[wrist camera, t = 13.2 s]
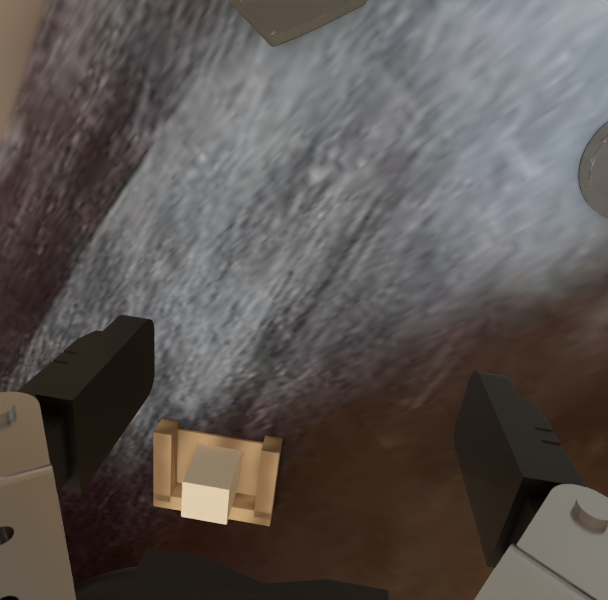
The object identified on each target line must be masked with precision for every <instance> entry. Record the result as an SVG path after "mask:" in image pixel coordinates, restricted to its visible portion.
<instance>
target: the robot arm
mask: <svg viewBox="0 0 608 600" xmlns="http://www.w3.org/2000/svg"><path fill="white" fill-rule="evenodd" d="M579 183H580V187H581V192H582V194H583V196H584V198H585V200H586V201H587V203H588V204H589V205H590V206H591V207H592V208H593V209H594V210H595V211H597V212H598V213H600V214H601V215H603V216H605V217H607V218H608V122H607V123H606V124H605V125H604V126H603V127H602V128H601V129H600V130H599V131H598V132H597V133H596V134H595V135H594V137H593V138H592V140H591V141H590V143H589V144H588V146H587V148H586V150H585V152H584V154H583V156H582V160H581V164H580V168H579ZM154 372H155V367H154V324H153V321H152V320H151V319H145V318H139V317H132V316H126V315H120V316H119V317H117V318H116V319H115V320H114V321H113V322H112V323H111V324H110V325H109V326H108V327H107V328H106V329H105V330H104V331H97V330H96V331H94V332H92V333H90V334H87V335H85V336H83V337H81V338H78V339H77V340H75V341H74V342H73V343H72V344H71V345H70V346H69V347H67V348H66V349H65V350H64V353H61V354H60V355H58V356H57V357H56V358H55V359H54V361H53V362H50V363H49V364H48V365H47V366H46V367H45V368H44V369H42V370H41V371H40V372H39V373H38V374H37V375H36V376H34V377H33V378H32V379H31V380H30V381H29V382H28V383H26V384H25V385H24V386H23V387H22V388H21V389H20V390H18V391H17V392H2V393H0V600H389V599H388V590H384V589H378V588H373V587H367V586H362V585H356V584H351V583H345V582H339V581H334V580H328V579H326V580H312V581H298V582H283V583H261V582H258V581H256V580H253V579H251V578H249V577H247V576H245V575H243V574H240V573H238V572H236V571H234V570H232V569H229V568H227V567H225V566H223V565H221V564H219V563H216V562H214V561H212V560H210V559H208V558H205V557H200V556H195V555H189V554H183V553H178V552H172V551H167V550H161V549H156V548H150V547H147V549H146V551H145V553H144V555H143V557H142V559H141V561H140V564H139V566H138V567H133V568H126V569H120V570H115V571H111V572H108V573H104V574H101V575H98V576H95V577H93V578H90V579H88V580H85V581H83V582H81V583H79V584H77V585H75V586H74V584H73V579H72V573H71V568H70V562H69V557H68V551H67V546H66V540H65V534H64V529H63V523H62V518H61V512H60V507H59V501H58V496H57V494H58V492H59V491H60V490H64V491H70V492H75V493H82V491H83V490H84V488H85V487H86V486H87V484H88V483H89V481H90V480H91V478H92V477H93V475H94V474H95V473H96V471H97V470H98V468H99V467H100V465H101V464H102V462H103V461H104V459H105V458H106V457H107V455H108V454H109V452H110V451H111V449H112V448H113V446H114V445H115V444H116V442H117V441H118V439H119V438H120V436H121V435H122V433H123V432H124V431H125V429H126V428H127V426H128V425H129V423H130V422H131V420H132V419H133V418H134V416H135V415H136V413H137V412H138V410H139V409H140V407H141V406H142V405H143V403H144V402H145V400H146V399H147V397H148V396H149V394H150V391H151V388H152V385H153V381H154ZM454 443H455V450H456V453H457V457H458V461H459V464H460V468H461V472H462V475H463V479H464V483H465V486H466V490H467V494H468V497H469V501H470V504H471V508H472V512H473V515H474V519H475V523H476V526H477V530H478V534H479V537H480V541H481V545H482V548H483V552H484V556H485V559H486V563H487V566H488V567H494V568H495V569H494V571H493V572H492V574H491V575H490V577H489V578H488V580H487V581H486V583H485V584H484V586H483V587H482V589H481V591H480V592H479V594H478V595H477V597H476V598H475V600H608V498H607V497H605V496H603V495H602V494H600V493H598V492H596V491H594V490H591V489H589V488H586V486H585V484H584V483H583V481H582V479H581V478H580V476H579V474H578V472H577V471H576V469H575V467H574V465H573V464H572V462H571V460H570V459H569V457H568V455H567V453H566V452H565V450H564V448H563V446H560V441H559V440H558V438H557V436H556V434H555V433H553V429H552V427H551V426H550V424H549V422H548V421H547V419H546V417H545V415H544V414H543V413H542V412H541V411H539V410H538V409H537V408H536V407H535V406H534V405H533V404H532V403H531V402H529V401H528V400H526V399H519V397H518V395H517V393H516V391H515V389H514V387H513V385H512V383H511V382H510V380H509V378H508V377H507V376H503V375H497V374H491V373H484V372H478V371H475V372H473V373H472V375H471V377H470V380H469V383H468V386H467V389H466V392H465V396H464V399H463V402H462V405H461V409H460V412H459V415H458V418H457V422H456V426H455V433H454Z"/></svg>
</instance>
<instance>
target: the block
mask: <svg viewBox="0 0 608 600" xmlns="http://www.w3.org/2000/svg"><path fill="white" fill-rule="evenodd" d="M241 455H242V451H241V450H235V449H230V448H224V447H218V446H212V445H206V444H200V443H199V445H198V448H197V450H196V452H195V454H194V457H193V459H192V461H191V463H190V466H189V468H188V470H187V472H186V475H185V477H184V479H183V481H182V506H181V517H186V518H192V519H198V520H203V521H209V522H214V523H220V524H227V521H228V518H229V514H230V511H231V508H232V504H233V501H234V498H235V494H236V491H237V488H238V484H239V476H240V466H241Z"/></svg>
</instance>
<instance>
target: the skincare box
mask: <svg viewBox="0 0 608 600" xmlns="http://www.w3.org/2000/svg"><path fill="white" fill-rule="evenodd" d="M228 1H229V2H230V3H231V4H232V5H233V6H234V7H235V8H236V9H237V10H238V11H239V12H240V13H241V14H242V16H243V17H244V18H245V19H246V20H247V21H248V22H249V23H250V24H251V25H252V26H253V27H254V28H255V29H256V30H257V31H258V32H259V34H260V35H261V36H262V37H263V38H264V39H265V40H266V41H267V42H268V43H269V44H270V45H271V46H276V45H279V44H281V43H284V42H286V41H289V40H291V39H293V38H296V37H298V36H300V35H302V34H305V33H307V32H309V31H311V30H313V29H316V28H318V27H320V26H322V25H324V24H326V23H328V22H331V21H333V20H335V19H337V18H338V17H340V16H342V15H344V14H346V13H348V12H350V11H352V10H354V9H356V8H357V7H359V6H361V5H363V4H364V3H365V2H366V0H228Z"/></svg>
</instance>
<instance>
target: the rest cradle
mask: <svg viewBox="0 0 608 600" xmlns="http://www.w3.org/2000/svg"><path fill="white" fill-rule="evenodd" d="M282 439H283V438H278V437H272V436H266V435H265V438H264V442H259V441H253V440H247V439H241V438H235V437H229V436H224V435H218V434H212V433H206V432H200V431H194V430H188V429H182V428H179V421H176V420H170V419H164V418H162V419H161V421H160V422H159V424H158V426H157V427H156V429H155V431H154V506H157V507H163V508H169V509H175V510H180V511H181V506H182V481H183V479H184V477H185V475H186V472H187V470H188V468H189V466H190V463H191V461H192V459H193V457H194V454H195V452H196V450H197V448H198V445H199V443H200V444H206V445H212V446H218V447H224V448H230V449H235V450H241V451H242V455H241V466H240V476H239V484H238V488H237V491H236V494H235V498H234V501H233V504H232V508H231V511H230V514H229V518H228V519H232V520H237V521H243V522H249V523H255V524H260V525H266V526H270V522H271V517H272V512H273V506H274V498H275V491H276V484H277V476H278V469H279V461H280V454H281V447H282Z"/></svg>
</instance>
